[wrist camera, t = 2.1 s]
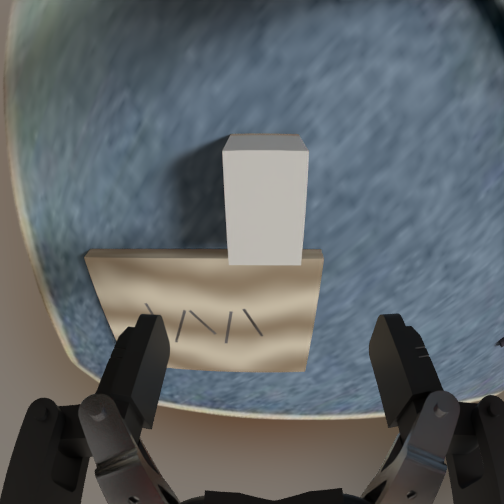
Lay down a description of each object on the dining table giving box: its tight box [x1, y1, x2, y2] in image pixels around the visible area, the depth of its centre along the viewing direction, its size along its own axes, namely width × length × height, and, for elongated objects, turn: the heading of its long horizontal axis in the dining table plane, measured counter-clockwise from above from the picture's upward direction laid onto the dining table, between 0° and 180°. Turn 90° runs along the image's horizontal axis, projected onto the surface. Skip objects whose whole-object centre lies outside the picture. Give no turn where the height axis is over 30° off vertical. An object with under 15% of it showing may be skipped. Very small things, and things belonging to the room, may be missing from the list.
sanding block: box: [222, 134, 309, 265], centre depth 22 cm, size 8×5×6 cm, turn 1°
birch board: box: [84, 249, 324, 372], centre depth 31 cm, size 16×22×2 cm
